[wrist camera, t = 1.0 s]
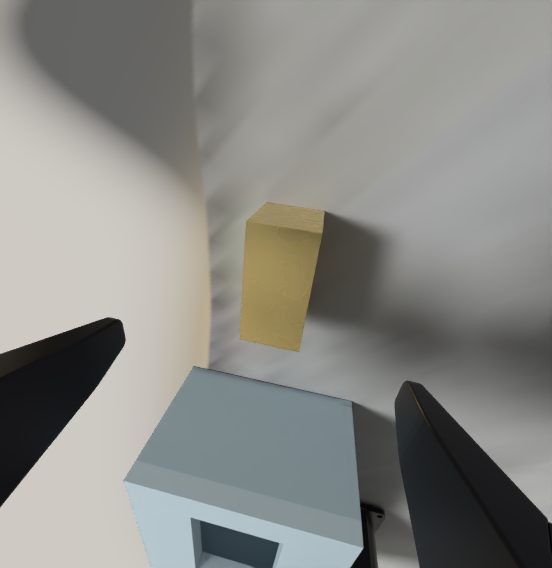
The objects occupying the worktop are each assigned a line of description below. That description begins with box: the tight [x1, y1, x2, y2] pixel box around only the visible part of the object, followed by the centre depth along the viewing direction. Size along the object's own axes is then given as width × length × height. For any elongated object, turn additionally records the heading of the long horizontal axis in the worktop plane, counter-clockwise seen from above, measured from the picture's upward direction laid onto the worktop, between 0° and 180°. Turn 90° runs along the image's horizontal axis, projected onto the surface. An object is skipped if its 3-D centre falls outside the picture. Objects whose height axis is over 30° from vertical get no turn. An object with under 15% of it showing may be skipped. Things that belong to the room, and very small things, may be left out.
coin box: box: [124, 366, 363, 568], centre depth 19 cm, size 12×12×8 cm
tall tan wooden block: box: [239, 202, 325, 352], centre depth 13 cm, size 3×6×4 cm, turn 173°
